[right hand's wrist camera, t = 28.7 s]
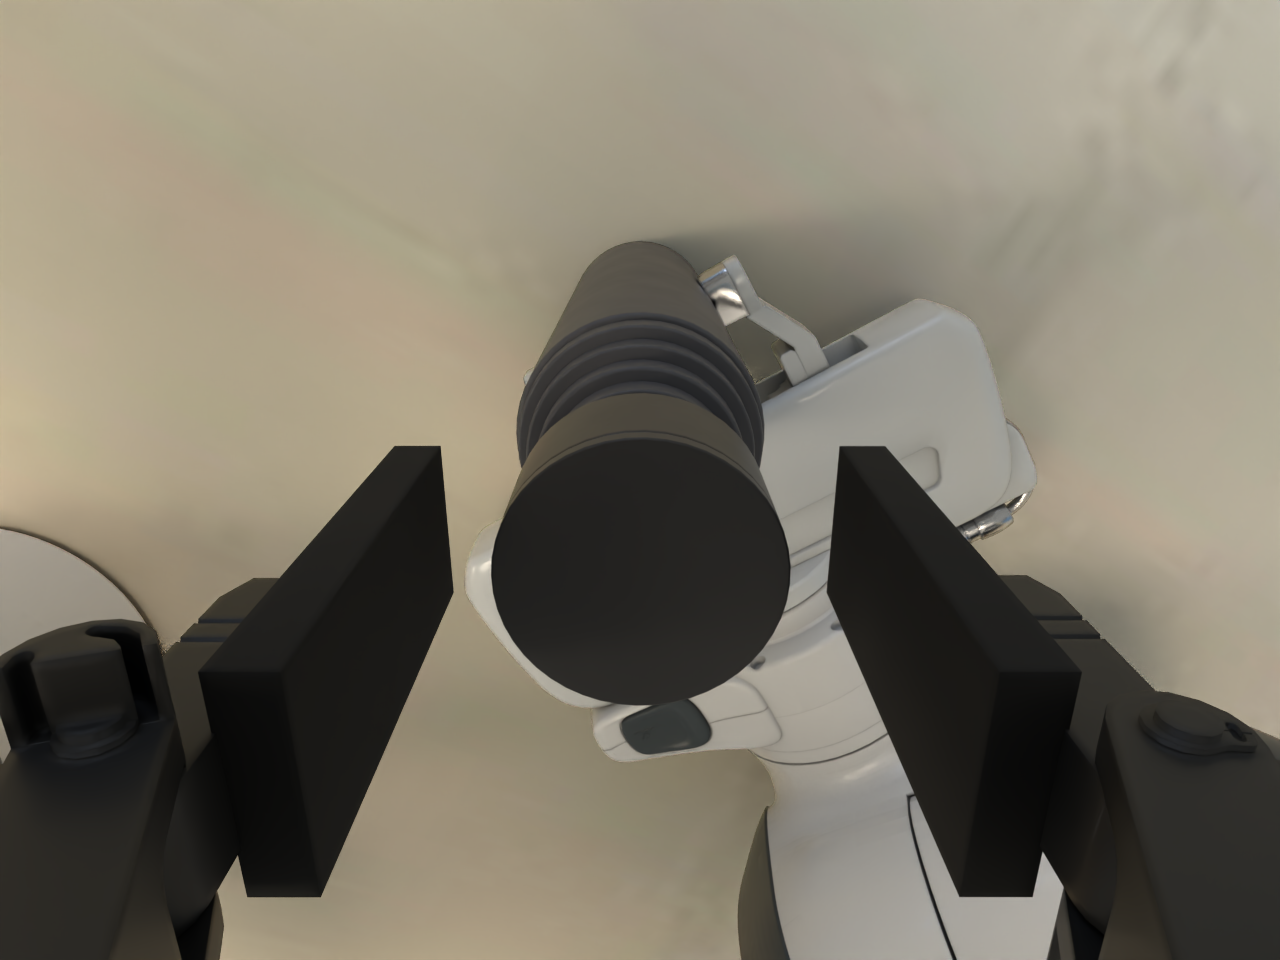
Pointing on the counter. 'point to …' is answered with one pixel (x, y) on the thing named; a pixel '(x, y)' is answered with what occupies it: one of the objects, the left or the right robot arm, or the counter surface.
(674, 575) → the cap
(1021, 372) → the counter surface
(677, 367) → the bottle
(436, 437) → the counter surface
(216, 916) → the right robot arm
